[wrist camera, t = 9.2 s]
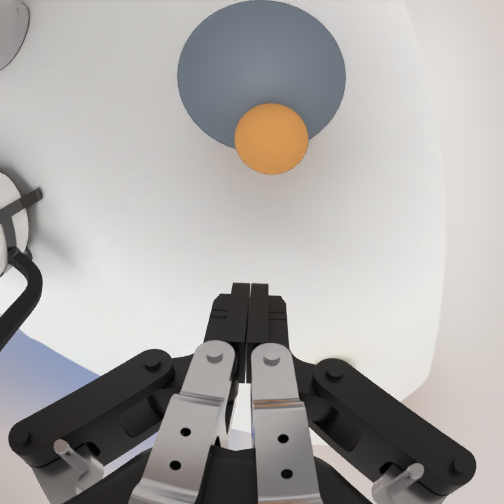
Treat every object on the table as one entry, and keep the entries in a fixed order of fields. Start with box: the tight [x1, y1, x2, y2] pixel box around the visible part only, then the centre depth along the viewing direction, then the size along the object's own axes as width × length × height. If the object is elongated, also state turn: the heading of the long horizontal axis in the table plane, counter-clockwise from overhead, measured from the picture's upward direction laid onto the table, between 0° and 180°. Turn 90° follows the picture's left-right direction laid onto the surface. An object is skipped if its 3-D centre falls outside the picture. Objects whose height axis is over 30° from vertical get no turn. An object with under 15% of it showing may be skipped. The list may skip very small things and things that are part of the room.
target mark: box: [177, 0, 346, 149], centre depth 21 cm, size 14×14×1 cm
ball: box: [235, 103, 308, 174], centre depth 21 cm, size 6×6×6 cm
